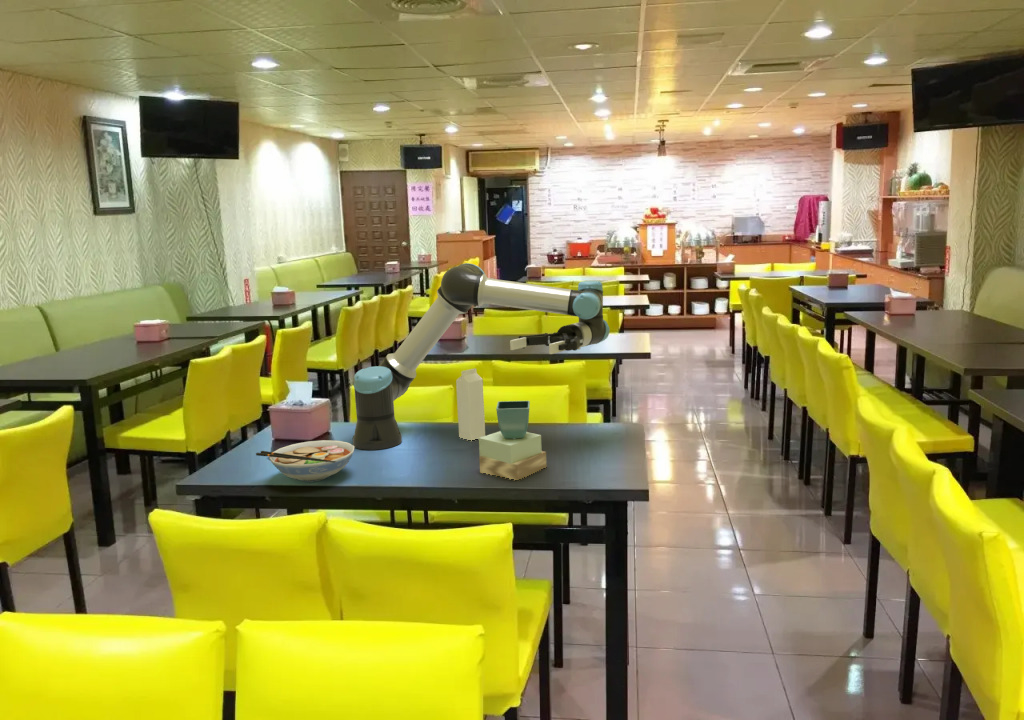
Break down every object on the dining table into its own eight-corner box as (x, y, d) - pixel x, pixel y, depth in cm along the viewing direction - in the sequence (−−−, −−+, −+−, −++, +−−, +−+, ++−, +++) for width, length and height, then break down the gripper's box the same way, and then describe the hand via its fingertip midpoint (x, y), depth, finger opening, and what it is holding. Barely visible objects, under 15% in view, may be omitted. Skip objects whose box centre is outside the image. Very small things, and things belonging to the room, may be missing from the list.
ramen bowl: (376, 469, 218) (374, 441, 217) (325, 496, 198) (322, 466, 196) (305, 461, 229) (303, 434, 227) (249, 486, 208) (246, 456, 207)
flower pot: (498, 432, 215) (497, 400, 214) (530, 431, 215) (529, 400, 214) (497, 441, 207) (496, 408, 205) (530, 440, 207) (529, 408, 205)
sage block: (479, 455, 212) (478, 437, 211) (510, 445, 221) (509, 428, 220) (511, 463, 204) (510, 445, 203) (541, 452, 212) (541, 435, 211)
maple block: (480, 474, 212) (479, 456, 211) (509, 461, 222) (508, 444, 221) (517, 482, 204) (517, 464, 203) (546, 469, 214) (546, 451, 213)
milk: (485, 437, 246) (482, 369, 242) (470, 441, 242) (467, 372, 238) (473, 434, 250) (470, 367, 246) (458, 438, 246) (455, 370, 242)
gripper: (609, 352, 225) (567, 364, 209) (540, 345, 241) (496, 356, 224) (609, 326, 224) (567, 336, 208) (539, 321, 239) (495, 330, 223)
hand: (530, 347), depth 216 cm, fingers open, 13 cm apart
